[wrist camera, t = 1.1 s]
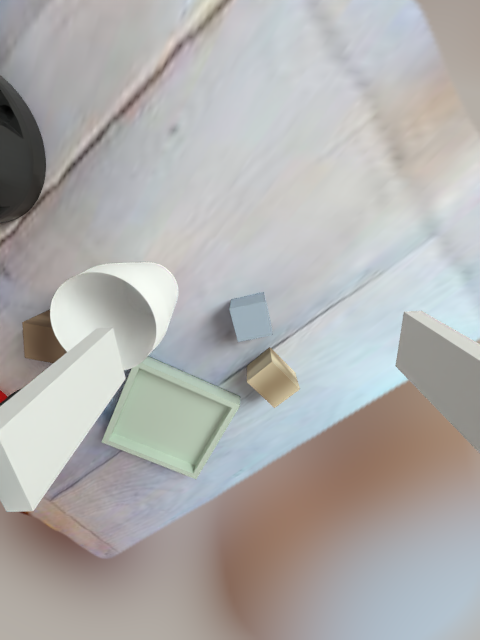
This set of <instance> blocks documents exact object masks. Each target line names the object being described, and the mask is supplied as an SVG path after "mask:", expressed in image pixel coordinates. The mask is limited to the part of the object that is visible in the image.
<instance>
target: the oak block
mask: <svg viewBox="0 0 480 640" xmlns="http://www.w3.org/2000/svg"><path fill="white" fill-rule="evenodd" d="M247 383H248V384H250V385H251V386H252V387H253V388H254V389H255V390H256V391H257V392H258V393H259V394H260V395H261V396H262V397H263V398H265V399H266V400H267V401H268V402H269V403H270V404H271V405H272V406H273V407H274V408H275V407H277V406H278V405H279V404H281V403H282V402H283V401H285V400H286V399H287V398H289V397H290V396H291V395H293V394H294V393H295V392H297V391H298V390H299V389H300V388H299V384H298V381H297V377H296V374H295V372H294V371H293V370H292V369H291V368H290V367H289V366H288V365H287V364H286V363H285V362H284V361H283V360H282V359H281V358H280V357H279V356H278V355H277V354H276V353H275V352H274V351H273V350H272V349H271V348H268V349H267V350H266V351H265V352H263V353H262V354H261V355H260V356H259V357H257V358H256V359H255V360H254V361H252V362H251V363H250V364H249V365H248V366H247Z"/></svg>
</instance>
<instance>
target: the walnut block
mask: <svg viewBox="0 0 480 640" xmlns="http://www.w3.org/2000/svg"><path fill="white" fill-rule="evenodd" d="M22 325H23V339H24V353H25V358H29V359H34V360H39V361H45V362H50V363H55V362H56V361H57V360H58V359H59V358H61V357H62V356H63V355H64V354H66V353H67V351H66V350H65V349H64V348H63V347H62V345H61V344H60V343H59V341H58V339H57V337H56V336H55V333H54V331H53V328H52V324H51V319H50V310H48V311H46V312H44V313H41V314H39V315H37V316H35V317H33V318H31V319H29V320H26V321H24V322H22Z"/></svg>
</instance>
